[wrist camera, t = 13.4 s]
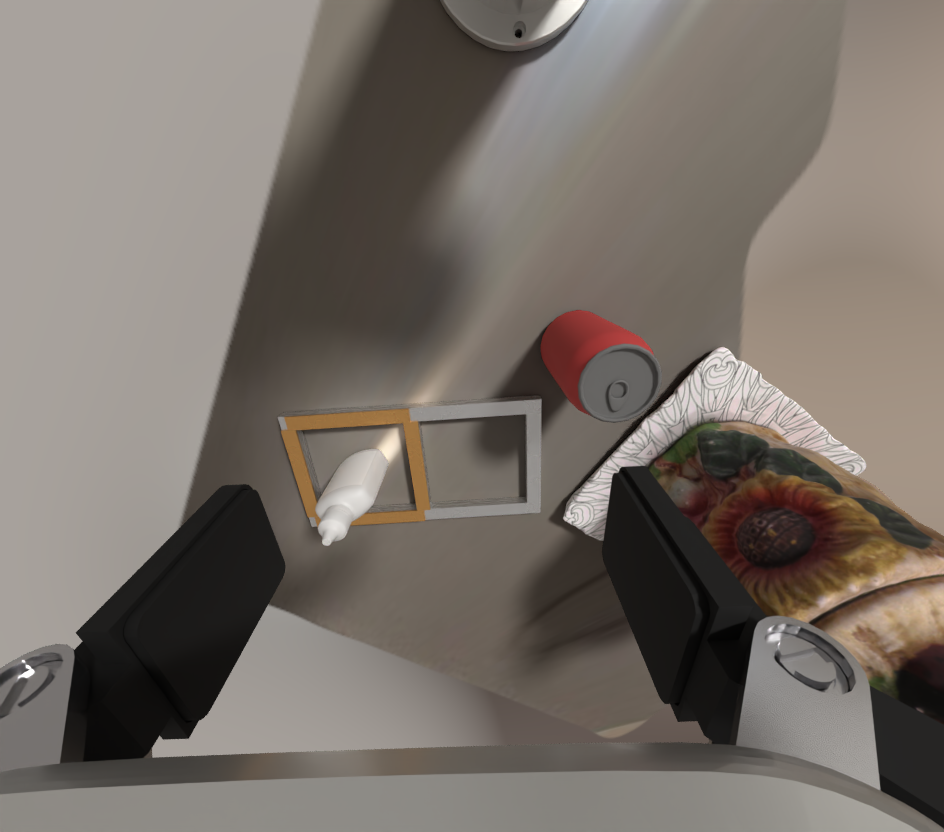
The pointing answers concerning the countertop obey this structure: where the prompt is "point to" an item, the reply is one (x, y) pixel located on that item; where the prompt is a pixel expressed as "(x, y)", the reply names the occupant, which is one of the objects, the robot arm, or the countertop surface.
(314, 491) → the rail
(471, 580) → the countertop surface
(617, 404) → the beer can
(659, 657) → the robot arm
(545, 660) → the countertop surface
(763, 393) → the cookie jar
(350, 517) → the eye dropper bottle
